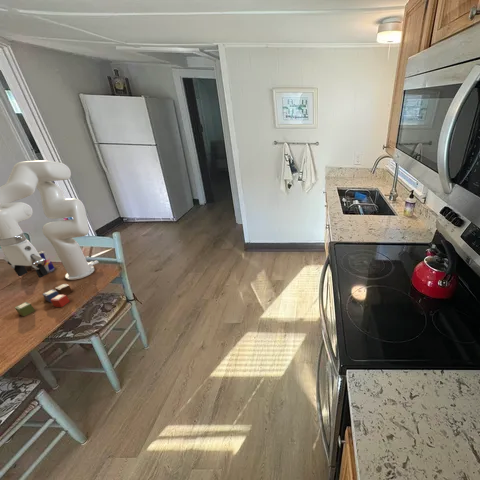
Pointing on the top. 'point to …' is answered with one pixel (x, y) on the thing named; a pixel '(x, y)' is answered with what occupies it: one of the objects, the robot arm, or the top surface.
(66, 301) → the red letter block
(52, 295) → the slate-blue letter block
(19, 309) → the olive letter block
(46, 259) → the energy drink
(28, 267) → the brown kiwi fruit
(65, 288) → the walnut letter block
